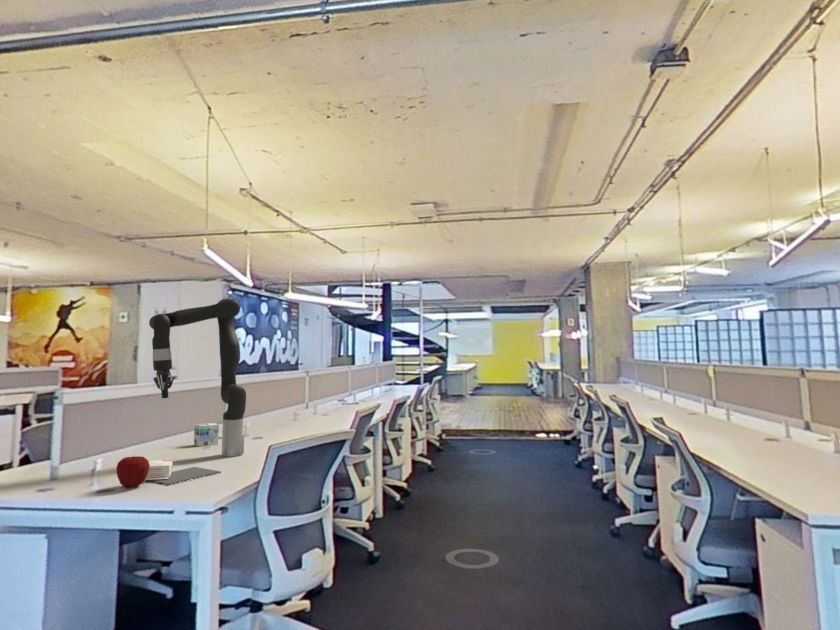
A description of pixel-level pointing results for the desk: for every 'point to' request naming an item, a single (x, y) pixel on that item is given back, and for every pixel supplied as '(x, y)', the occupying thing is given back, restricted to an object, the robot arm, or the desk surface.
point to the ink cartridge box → (159, 469)
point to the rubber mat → (186, 475)
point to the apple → (132, 471)
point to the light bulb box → (206, 434)
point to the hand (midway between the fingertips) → (165, 398)
